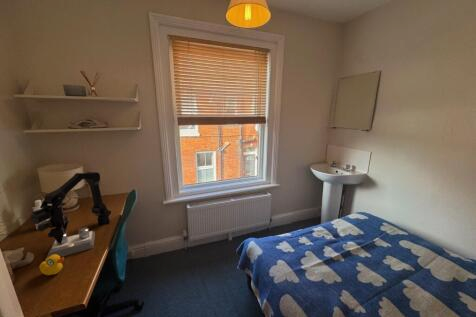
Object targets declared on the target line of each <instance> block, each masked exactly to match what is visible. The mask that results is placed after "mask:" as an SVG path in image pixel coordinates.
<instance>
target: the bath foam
mask: <svg viewBox="0 0 476 317" xmlns="http://www.w3.org/2000/svg"><path fill="white" fill-rule="evenodd" d="M41 204H42V201H41V199H37V200H34V206H35V207H34V208H33V210H32V212H33V211H36V210H39V209H42V208H40V206H41ZM49 219H50V218H49ZM49 219H47V220H49ZM47 220H45V221H47ZM45 221H42V222H40V223H43V222H45ZM40 223H38V224H35V225H34V226H35V228H36V230H37V231H38V229H37V227H38V225H39V224H40Z"/></svg>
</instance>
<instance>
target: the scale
mask: <svg viewBox="0 0 476 317" xmlns="http://www.w3.org/2000/svg"><path fill="white" fill-rule="evenodd" d="M89 235H90V236H89V237H88V238H86V239H82V240H81V239H79V233H78V234H74V235H70V236H67V238H68V242H67V243H65V244H63V245H57V243H56V239H55V240H54V241H53V242H52V245H51V246H50V249H49V251H48V254H47V255H46V258H48V257H50V256H51V255H54V254H57V255H59V256H60V258H62V257H66V256H70V255H74V254H76V253H77V254H78V253H80V252H84V251H87V250H91V249H93V248H94V244H95V243H94V242H95V236H96V233H95V230H94V231H93V230H89Z"/></svg>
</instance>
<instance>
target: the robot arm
mask: <svg viewBox="0 0 476 317" xmlns="http://www.w3.org/2000/svg"><path fill="white" fill-rule="evenodd" d="M83 180H85V182H86V183H87V184H88V185H89V188H90V193H91V196H92V201H93V206H91V207H90V209H91V213H92V214H93V215H95V216H96V217H97V225H98V226H105V225H107V224H108V225H109V224H110V223H111V222H110V215H111V214H112V211H111V210H109V209H108V208H107V205H106V204H105V203H104V202H103V199H102V198H103V197H102V194H101V189H100V181H101V174H100V173H99V172H98V171H97V172H96V171H87V172H76V173H75V174H74V175H73V176H72V177H71V178H69V179H68V180H67V181H65V183H63V185H61V186H60V187H59V188H57V189H55V190H52V191H50V192H49V193H47V194H46V195H44V197H43V198H44V199H43V200H42V202H41V206H40V208H42V209H39V210H36V211H33V210H32V212H31V215H30V221H31V222H32V223H33V224H38V223H40V222H42V221H45V220H47V219H49V220H47V221H45V222H43V223H40V224H39V225H38V227H37V229H38V230H37V229H36V230H37V231H38V232H44V231H45V230H47V229H49V228H50V229H49V231H48V233H47V237H48V238H53V239H55V240H56V241H57V242H58V243H61V242H62V239H63V235H64V232H65V233H66V231H67V227H68V224H69V221H70V219H69V216H67V215H66V216H65V213H64V210H63V206H65V205H67V203H66V202H63V201H64V200H65V199H66V196H67V195H68V193H69V192H70V191H71V190H73V189H74V188H75V187H76V186H77V185H78V184H80V182H82V181H83Z"/></svg>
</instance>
